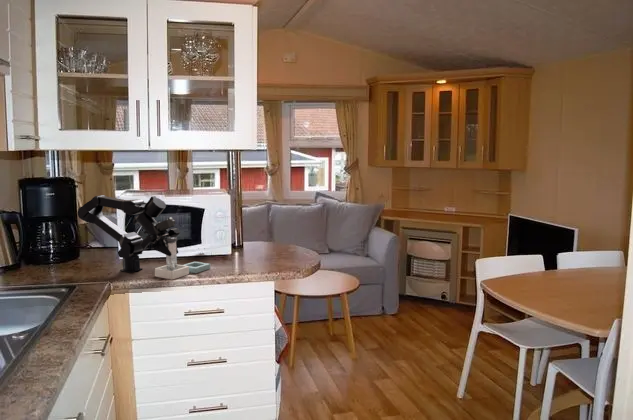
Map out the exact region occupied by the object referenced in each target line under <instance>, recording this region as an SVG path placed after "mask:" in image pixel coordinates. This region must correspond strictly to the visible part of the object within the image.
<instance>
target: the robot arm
mask: <svg viewBox="0 0 633 420" xmlns="http://www.w3.org/2000/svg"><path fill="white" fill-rule="evenodd" d="M166 207H167V204H166V202H165V201H164V200H162V199H160V198H159V197H157V196H155V195H154V196H151V197H150V198H149V200H148V201H147V202H145V201H144V200H143V199H137V198H136V199H121V198H117V197H112V196H106V195H104V194H100V195H95V196H94V197H92V198H91V199H90V200H89V201H87V202H85V203H84V204H83V205H81V206H80V207H79V208H78V209H77V217H78V218H79V219H80V220H82V221H84V222H85V223H89V224H93V225H95V226H97V227H98V228H99V229H100V230H102V231H103V232H104V233H106V234H107V235H109V236H110V237H112V239H114V240H115V241H117V242H118V244H119V246H120V249H119V250H118V251H117V256H118V258H121V259H122V268H121V269H119V271H120V272H125V273H130V274H131V273H134V272H139V271H142V270H143V269H144V268H143V267H141V262H140V261H141V260H140V255H142V254H143V252H144V250H149V248H150V250H154V251H157V252H159V253H161V254H163V255H165V256H166V255H168V256H171V255H172V254H171V252H170V251H169V249H168V248H167V247H166V242H165V241H164V238H167V237H176V238H178V237H179V235H181V230H180V229H179V228H177V227H176V228H175V224H176V220H175V219H174V218H173V216H170V217H168V218H165V220H163V221H157V220H156V219H155V218H158V217H159V216H160V215H161V214H162V212H163V211H164V210H165V209H166ZM104 208H109V209H110V208H111V209H116V210H120V211H122V212H123V213H124V214H126V215H129V216H135V215H137V216H135V217H133V221H132V222H133V223H132V224H133V225H137V224H139V226H141V228H142V229H143V230H144V231H143V233H144V235H146V237H145V238H144V239H143V237H142V236H141V235H139V234H138V233H137V232H135V231H133V232H126V231H125V230H124V229H123V228H121V227H120V226H118V225H117V224H115V222H113V221H111V220H110V219H109V218H107V217H106V216H105V215H104V214H103V210H104ZM170 228H171V229H170ZM150 245H151V247H150ZM176 252H177V255H178V254H179V251H178V247H177V246H176Z"/></svg>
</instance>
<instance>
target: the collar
mask: <svg viewBox="0 0 633 420" xmlns="http://www.w3.org/2000/svg"><path fill="white" fill-rule="evenodd" d="M183 265H184V266H189V273H192V274H197V273H200V272H201V273H202V272H204V271H208V270H210V269H211V263H207V262H201V261H192V262H189V263H185V264H183Z"/></svg>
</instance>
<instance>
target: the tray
mask: <svg viewBox="0 0 633 420" xmlns="http://www.w3.org/2000/svg"><path fill="white" fill-rule="evenodd" d="M154 275H155V277H156V278H162V279H167V280H176V279H178V278H182V277H184V276H187V275H190V272H189V266H184V264H178V263H177V270H174V271H169V270H167V265H163V266H159V267H155V268H154Z"/></svg>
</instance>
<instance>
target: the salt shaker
mask: <svg viewBox="0 0 633 420" xmlns="http://www.w3.org/2000/svg"><path fill="white" fill-rule="evenodd" d="M164 241H165V242H166V247H167V248H168V249H169V251H170V252H171V254H172V255H171V256H168V255H165V258H166V259H165V260H166V261H165V262H166V265H167V270H169V271H174V270H177V264H178V260H177V259H178V256H177V255H178V254H177V252H176V247H177V241H178V237H167V238H164ZM165 242H164V243H165Z"/></svg>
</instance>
